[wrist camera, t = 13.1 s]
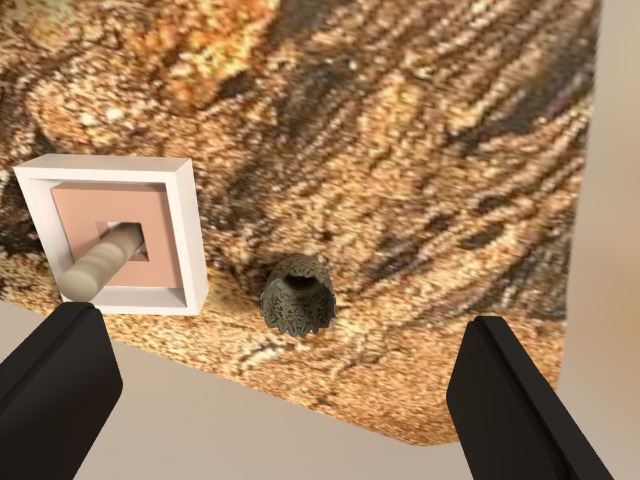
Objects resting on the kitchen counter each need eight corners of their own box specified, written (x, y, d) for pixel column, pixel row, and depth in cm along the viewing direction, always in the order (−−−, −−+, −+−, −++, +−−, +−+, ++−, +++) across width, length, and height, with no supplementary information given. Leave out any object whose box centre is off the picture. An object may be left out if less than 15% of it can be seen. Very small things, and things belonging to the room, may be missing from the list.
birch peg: (114, 219, 38) (52, 272, 29) (143, 220, 38) (89, 273, 29) (121, 244, 39) (63, 302, 30) (149, 245, 39) (99, 303, 30)
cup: (331, 293, 43) (333, 340, 36) (269, 289, 43) (259, 336, 36) (336, 238, 40) (340, 279, 33) (269, 233, 39) (258, 274, 32)
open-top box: (47, 153, 35) (12, 166, 31) (191, 158, 36) (174, 171, 32) (90, 287, 43) (67, 312, 39) (209, 290, 43) (198, 315, 39)
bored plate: (64, 181, 36) (50, 188, 34) (176, 185, 36) (168, 192, 34) (93, 275, 41) (83, 285, 39) (191, 277, 41) (185, 288, 39)
